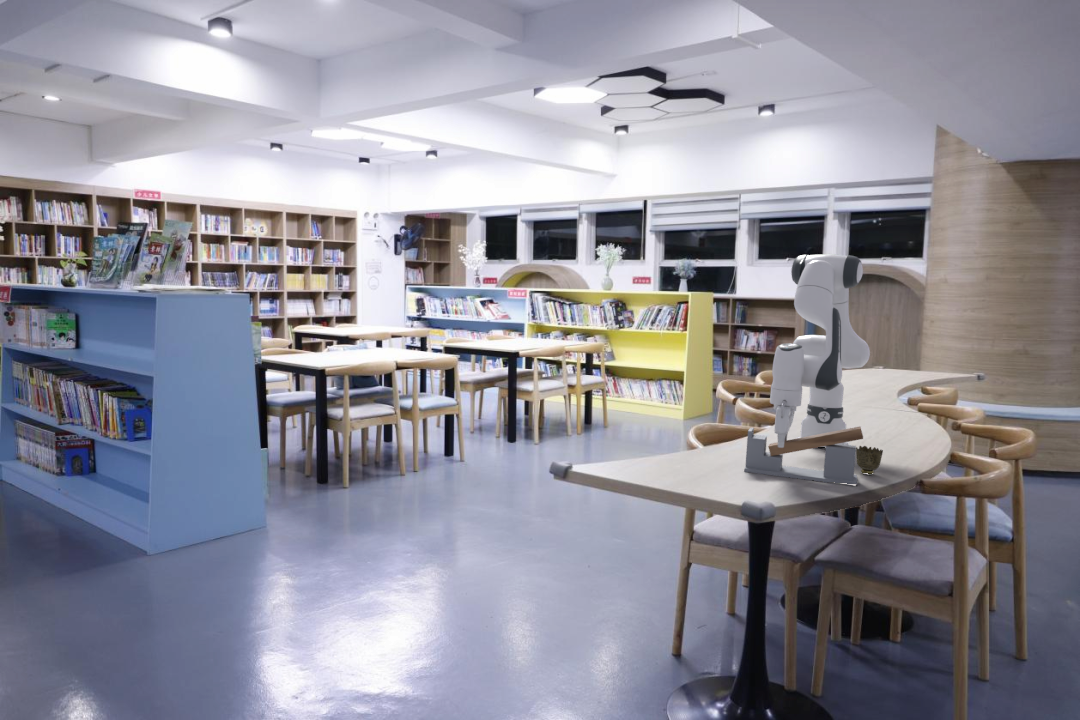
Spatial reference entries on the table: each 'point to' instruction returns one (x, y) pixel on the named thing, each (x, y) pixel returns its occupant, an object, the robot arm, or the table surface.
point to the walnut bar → (817, 441)
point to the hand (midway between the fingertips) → (782, 444)
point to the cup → (868, 459)
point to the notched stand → (835, 468)
